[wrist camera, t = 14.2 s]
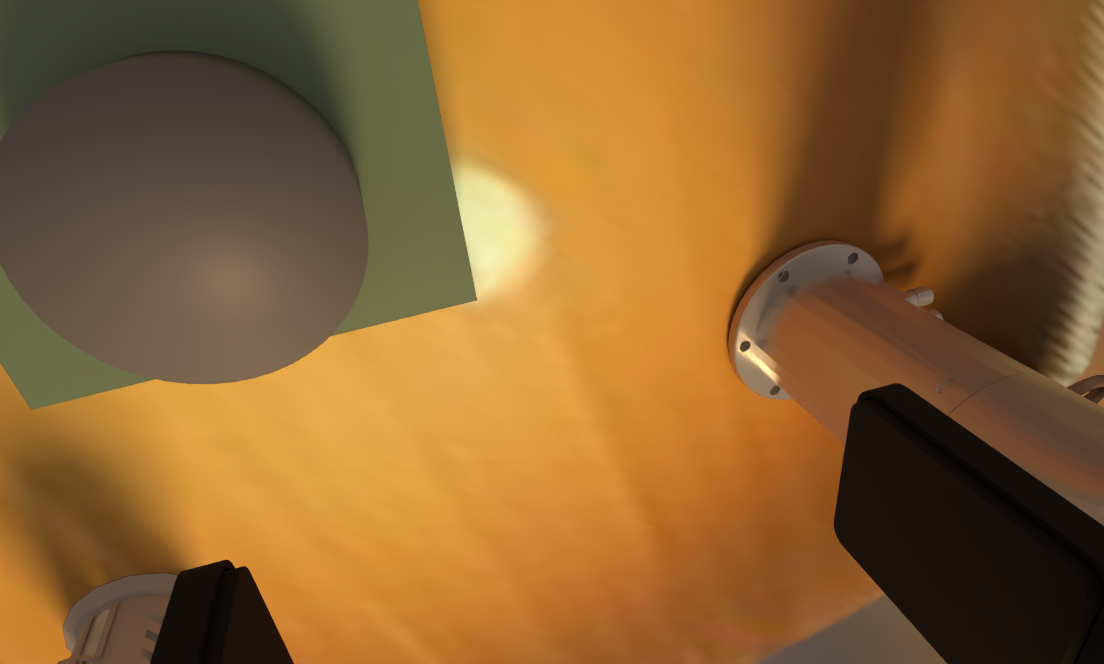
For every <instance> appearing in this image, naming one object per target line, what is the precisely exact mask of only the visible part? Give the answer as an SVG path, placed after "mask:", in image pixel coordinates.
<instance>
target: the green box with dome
mask: <svg viewBox="0 0 1104 664" xmlns="http://www.w3.org/2000/svg"><path fill="white" fill-rule="evenodd" d="M476 300H477V297H476V292H475V287H474V282H473V277H472V272H471V267H470V262H469V257H468V252H467V247H466V242H465V237H464V232H463V227H462V222H461V217H460V212H459V207H458V202H457V197H456V192H455V187H454V182H453V177H452V172H451V167H450V162H449V157H448V152H447V147H446V142H445V136H444V131H443V126H442V121H441V116H440V111H439V106H438V101H437V96H436V91H435V86H434V81H433V76H432V71H431V66H430V61H429V56H428V51H427V46H426V41H425V36H424V31H423V26H422V21H421V16H420V11H419V6H418V1H417V0H0V363H1V365H2V366H3V368H4V369H5V371H6V372H7V374H8V375H9V377H10V378H11V380H12V381H13V383H14V384H15V386H16V387H17V389H18V390H19V392H20V393H21V395H22V396H23V398H24V399H25V401H26V402H27V404H28V405H29V407H30V408H31V410H32V409H36V408H40V407H44V406H48V405H52V404H56V403H61V402H65V401H69V400H73V399H77V398H81V397H85V396H89V395H93V394H97V393H101V392H105V391H109V390H113V389H118V388H122V387H126V386H130V385H134V384H138V383H142V382H146V381H150V380H154V379H158V380H163V381H168V382H177V383H186V384H218V383H229V382H236V381H242V380H247V379H252V378H256V377H259V376H262V375H265V374H269V373H272V372H275V371H277V370H279V369H281V368H284V367H286V366H288V365H291V364H293V363H294V362H296V361H298V360H299V359H301V358H303V357H304V356H306V355H308V354H309V353H311V352H312V351H313V350H315V349H316V348H317V347H318V346H320V345H321V344H322V343H324V342H325V341H326V340H327V339H328V338H329V337H330V336H333V335H337V334H341V333H346V332H350V331H354V330H358V329H362V328H366V327H370V326H374V325H378V324H382V323H386V322H390V321H394V320H398V319H403V318H407V317H411V316H415V315H419V314H423V313H427V312H431V311H435V310H439V309H443V308H447V307H451V306H455V305H460V304H464V303H468V302H472V301H476Z"/></svg>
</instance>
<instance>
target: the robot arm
mask: <svg viewBox="0 0 1104 664" xmlns="http://www.w3.org/2000/svg"><path fill="white" fill-rule="evenodd" d="M933 300H934V294H933V292H932V290H931V289H930V288H929V287H927V286H922V287H918V288H915V289H911V290H909V291H907V292H902V291H900V290H898V289H896V288H894V287H893V286H891V285H889V284H887V283H885V282H884V276H883V274H882V271H881V269H880V267H879V265H878V263H877V262H876V261H875V260H874V259H873V257H872V256H871V255H869V254H868V253H866V252H865V251H863V250H862V249H860V248H858V247H856V246H854V245H851V244H849V243H847V242H841V241H836V240H827V241H817V242H813V243H809V244H806V245H803V246H801V247H799V248H796V249H794V250H792V251H790V252H788V253H787V254H785V255H783V256H782V257H780V258H779V259H777V260H776V261H774V262H773V263H772V264H771V265H770V266H769V267H768V268H767V269H765V270H764V271H763V272H762V273H761V274H760V275H759V276H758V278H757V279H756V280H755V281H754V282H753V283H752V285H751V286H750V287H749V289H748V290H747V292H746V293H745V295H744V296H743V298H742V300H741V301H740V303H739V305H738V308H737V310H736V312H735V314H734V317H733V320H732V324H731V328H730V331H729V342H728V349H729V357H730V361H731V364H732V367H733V369H734V372H735V373H736V374H737V376H738V377H739V379H740V380H741V381H742V382H743V383H744V384H745V385H746V386H747V387H748V388H749V389H750V390H752V391H753V392H755V393H757V394H759V395H760V396H763V397H766V398H769V399H778V400H787V399H794V400H795V401H796V402H797V403H798V404H799V405H800V406H801V407H803V408H804V409H805V410H806V411H807V412H808V413H809V414H810V415H812V416H813V417H814V418H815V419H816V420H817V421H818V422H819V423H821V424H822V425H823V426H824V427H825V428H826V429H827V430H828V431H830V432H831V433H832V434H833V435H834V436H835V437H836V438H837V439H839V440H840V441H841V442H842V443H843V444H844V445H845V451H844V457H843V464H842V471H841V477H840V484H839V491H838V497H837V504H836V510H835V517H834V529H835V533H836V535H837V538H838V539H839V541H840V543H841V544H842V545H843V547H844V548H845V549H846V550H847V551H848V552H849V553H850V555H851V556H852V557H853V558H854V559H855V560H856V561H857V562H858V564H859V565H860V566H861V567H862V568H863V569H864V570H865V571H866V573H867V574H868V575H869V576H870V577H871V578H872V579H873V580H874V582H875V583H876V584H877V585H878V586H879V587H880V588H881V589H882V591H883V592H884V593H885V594H886V595H887V596H888V597H889V598H890V600H891V601H892V602H893V603H894V604H895V605H896V606H897V607H898V609H899V610H900V611H901V612H902V613H903V614H904V615H905V616H906V618H907V619H908V620H909V621H910V622H911V623H912V624H913V625H914V627H915V628H916V629H917V630H918V631H919V632H920V633H921V634H922V636H923V637H924V638H925V639H926V640H927V641H928V642H929V643H930V645H931V646H932V647H933V648H934V649H935V650H936V651H937V652H938V653H939V655H940V656H941V657H942V658H943V659H944V660H945V661H946V663H948V664H1104V407H1102V406H1100V405H1098V404H1096V403H1094V402H1092V401H1090V400H1088V399H1086V398H1085V397H1083V396H1081V395H1079V394H1077V393H1075V392H1073V391H1072V390H1070V389H1068V388H1066V387H1064V386H1062V385H1060V384H1059V383H1057V382H1055V381H1053V380H1051V379H1049V378H1048V377H1046V376H1044V375H1042V374H1040V373H1038V372H1036V371H1035V370H1033V369H1031V368H1029V367H1027V366H1025V365H1024V364H1022V363H1020V362H1018V361H1016V360H1015V359H1013V358H1011V357H1009V356H1007V355H1005V354H1004V353H1002V352H1000V351H998V350H996V349H994V348H993V347H991V346H989V345H987V344H985V343H983V342H982V341H980V340H978V339H976V338H974V337H972V336H971V335H969V334H967V333H965V332H963V331H962V330H960V329H958V328H956V327H954V326H952V325H951V324H949V323H947V322H945V321H944V319H943V317H942V315H941V314H940V313H939V312H938V311H937V310H934V309H928V310H923V309H921V308H919V307H921V306H925V305H928V304H931V303H932V302H933ZM150 664H294V663H293V661H292V659H291V657H290V655H289V652H288V650H287V648H286V646H285V644H284V642H283V640H282V638H281V636H280V634H279V632H278V629H277V627H276V625H275V623H274V621H273V619H272V617H271V615H270V613H269V611H268V608H267V606H266V604H265V602H264V600H263V598H262V596H261V594H260V592H259V590H258V587H257V585H256V583H255V581H254V579H253V577H252V575H251V573H250V571H249V569H248V568H247V567H245V566H244V567H239V568H236V569H235V567H234V566H233V564H232V563H231V562H230V561H229V560H223V561H219V562H215V563H212V564H208V565H204V566H200V567H197V568H193V569H189V570H185V571H182V572H181V573H180V574H179V575H178V576H177V579H176V581H175V584H174V587H173V590H172V593H171V596H170V600H169V603H168V606H167V609H166V613H165V616H164V619H163V622H162V625H161V629H160V632H159V635H158V638H157V642H156V645H155V648H154V651H153V654H152V658H151V661H150Z"/></svg>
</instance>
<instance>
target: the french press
mask: <svg viewBox="0 0 1104 664" xmlns="http://www.w3.org/2000/svg"><path fill="white" fill-rule="evenodd" d="M177 576H178V575H173V574H167V573H157V574H145V575H134V576H127V577H124V578H121V579H119V580H116V581H113V582H110V583H107V584H105V585H102V586H99V587H96V588H95V589H94V590H92V591H91V592H90V593H88V594H87V595H86V596H85V597H83V598H82V599H81V600H79V601H78V602H77V603H76V604H74V605H73V606H72V608H71V610H70V612H69V614H68V617H67V619H66V621H65V623H64V625H63V632H64V638H65V643H66V648H67V649H68V650H69V651H70V652H71V653H72V654H71V657H70V658H68V659H65V660H62V661H59V662H58V663H57V664H67V663H68V664H150V661H151V658H152V654H153V651H154V648H155V645H156V642H157V638H158V635H159V632H160V629H161V625H162V622H163V619H164V616H165V613H166V609H167V606H168V603H169V600H170V596H171V593H172V590H173V587H174V584H175V581H176V579H177Z"/></svg>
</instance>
